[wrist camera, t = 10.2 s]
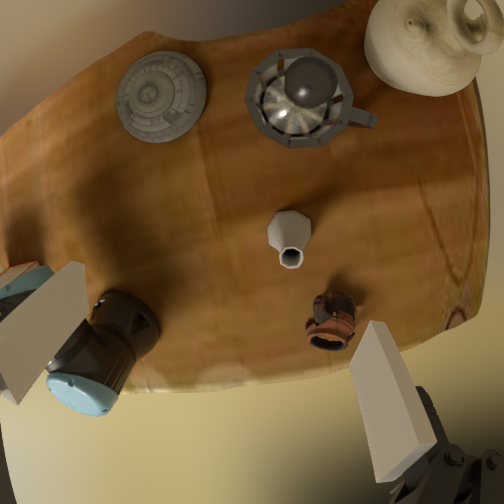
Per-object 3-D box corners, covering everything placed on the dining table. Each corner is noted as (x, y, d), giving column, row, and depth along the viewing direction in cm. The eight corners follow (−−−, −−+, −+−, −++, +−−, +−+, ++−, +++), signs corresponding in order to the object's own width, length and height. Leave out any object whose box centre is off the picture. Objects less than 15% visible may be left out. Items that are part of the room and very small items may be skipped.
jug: (437, 26, 30) (531, -15, 7) (440, 109, 36) (552, 113, 14) (351, 3, 31) (407, -81, 8) (353, 90, 38) (432, 57, 15)
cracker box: (17, 287, 59) (-33, 331, 39) (8, 266, 56) (-46, 307, 37) (48, 283, 56) (-8, 335, 37) (38, 259, 54) (-23, 307, 35)
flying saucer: (221, 122, 41) (213, 122, 36) (136, 156, 44) (120, 160, 39) (192, 38, 36) (181, 28, 31) (110, 77, 39) (93, 74, 34)
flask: (306, 256, 49) (311, 287, 40) (262, 247, 49) (258, 277, 40) (316, 214, 46) (326, 237, 37) (271, 204, 46) (269, 225, 37)
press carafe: (245, 134, 42) (232, 136, 30) (262, 61, 37) (256, 35, 25) (343, 158, 42) (367, 171, 30) (360, 87, 37) (391, 74, 25)
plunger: (257, 126, 38) (237, 123, 19) (270, 69, 35) (263, 16, 16) (317, 140, 38) (355, 153, 19) (331, 84, 35) (380, 48, 16)
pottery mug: (366, 312, 53) (360, 352, 48) (323, 317, 59) (314, 354, 54) (341, 275, 47) (333, 320, 42) (293, 283, 53) (281, 324, 48)
